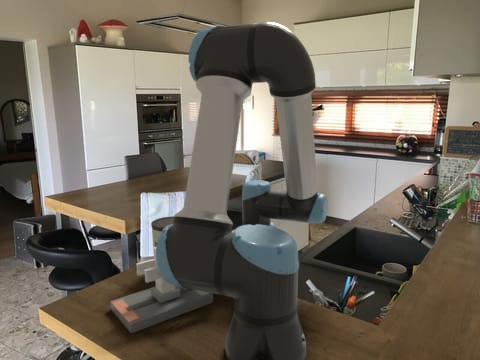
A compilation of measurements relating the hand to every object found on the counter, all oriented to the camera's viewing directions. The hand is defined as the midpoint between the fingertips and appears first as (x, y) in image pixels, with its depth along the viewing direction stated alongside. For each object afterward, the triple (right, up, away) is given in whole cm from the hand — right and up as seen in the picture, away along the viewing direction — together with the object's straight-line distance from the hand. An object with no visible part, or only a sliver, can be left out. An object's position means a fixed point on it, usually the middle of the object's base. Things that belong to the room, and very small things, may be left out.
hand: (141, 272), depth 85 cm
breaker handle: (+4, -6, +5) cm, 9 cm away
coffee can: (+3, -5, +24) cm, 24 cm away
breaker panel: (+4, -9, +5) cm, 11 cm away
